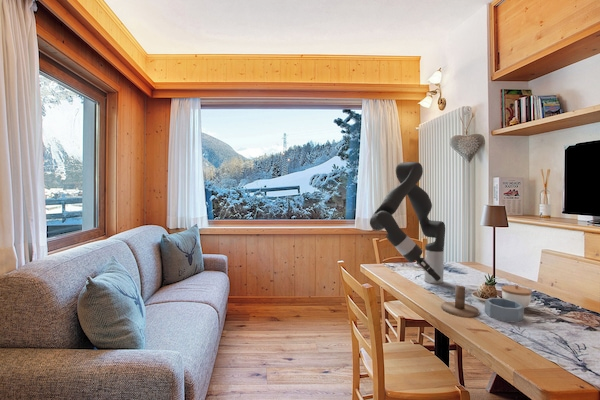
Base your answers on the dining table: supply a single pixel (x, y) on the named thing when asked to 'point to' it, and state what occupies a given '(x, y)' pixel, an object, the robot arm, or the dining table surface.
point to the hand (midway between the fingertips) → (436, 276)
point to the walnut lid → (460, 305)
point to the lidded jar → (517, 294)
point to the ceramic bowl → (504, 309)
